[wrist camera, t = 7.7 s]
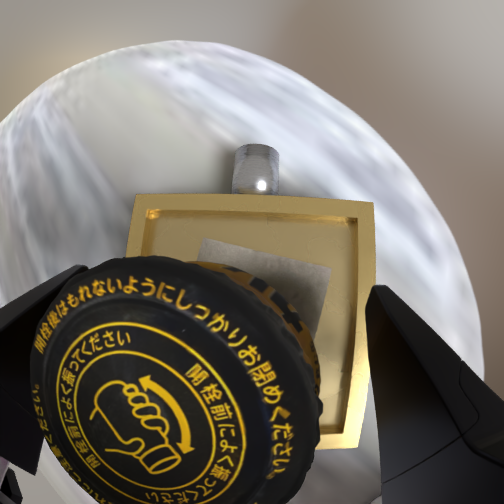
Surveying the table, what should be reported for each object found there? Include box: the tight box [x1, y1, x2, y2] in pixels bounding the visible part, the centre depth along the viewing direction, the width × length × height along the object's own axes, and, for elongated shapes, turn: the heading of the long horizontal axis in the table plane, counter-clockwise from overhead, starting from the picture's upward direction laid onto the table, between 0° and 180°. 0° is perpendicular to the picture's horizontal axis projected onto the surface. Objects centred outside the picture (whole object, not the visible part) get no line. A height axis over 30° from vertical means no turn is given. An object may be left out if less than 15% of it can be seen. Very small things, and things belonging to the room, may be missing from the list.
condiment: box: [30, 237, 332, 504], centre depth 9 cm, size 7×8×12 cm
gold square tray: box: [126, 144, 376, 449], centre depth 17 cm, size 18×14×4 cm
